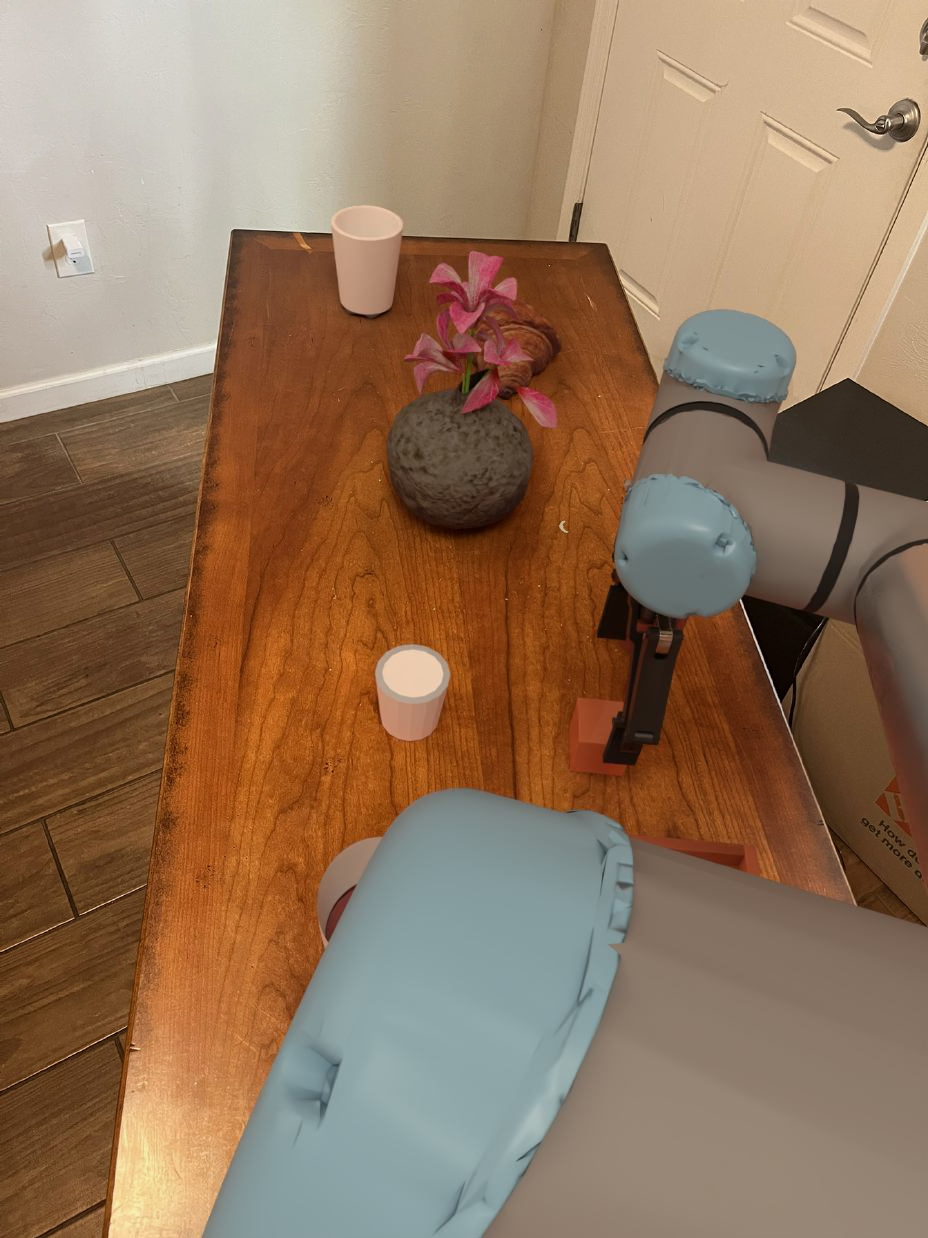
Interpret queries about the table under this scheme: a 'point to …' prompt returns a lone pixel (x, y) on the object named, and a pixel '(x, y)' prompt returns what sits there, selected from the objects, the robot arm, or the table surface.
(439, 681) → the shot glass
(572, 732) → the terracotta block
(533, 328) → the pastry
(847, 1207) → the robot arm
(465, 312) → the vase
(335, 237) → the cup
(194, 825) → the table surface
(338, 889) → the wineglass
